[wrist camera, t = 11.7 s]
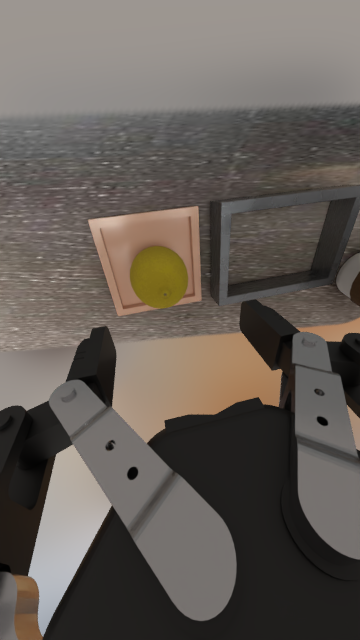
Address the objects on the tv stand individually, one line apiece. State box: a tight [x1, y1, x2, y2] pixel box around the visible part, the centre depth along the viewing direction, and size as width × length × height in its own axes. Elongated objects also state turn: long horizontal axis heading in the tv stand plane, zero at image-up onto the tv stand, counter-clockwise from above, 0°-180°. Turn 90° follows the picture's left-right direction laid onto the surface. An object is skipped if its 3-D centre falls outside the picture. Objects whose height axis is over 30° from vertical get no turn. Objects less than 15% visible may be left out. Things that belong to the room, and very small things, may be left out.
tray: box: [88, 206, 201, 316], centre depth 22 cm, size 11×11×1 cm
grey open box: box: [210, 185, 360, 306], centre depth 23 cm, size 16×11×3 cm
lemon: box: [130, 246, 188, 309], centre depth 19 cm, size 6×6×8 cm
